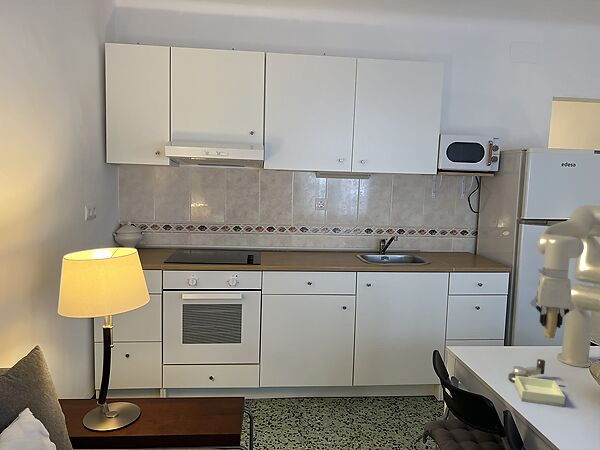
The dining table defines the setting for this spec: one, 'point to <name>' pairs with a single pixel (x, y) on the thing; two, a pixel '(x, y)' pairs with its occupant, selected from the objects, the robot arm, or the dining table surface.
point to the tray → (539, 391)
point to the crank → (530, 369)
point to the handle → (551, 322)
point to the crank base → (512, 378)
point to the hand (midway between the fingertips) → (550, 325)
